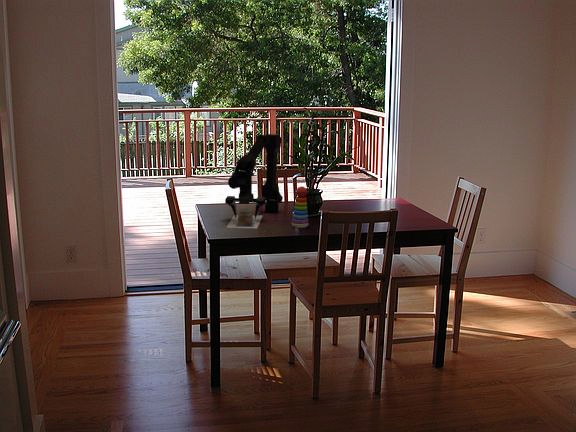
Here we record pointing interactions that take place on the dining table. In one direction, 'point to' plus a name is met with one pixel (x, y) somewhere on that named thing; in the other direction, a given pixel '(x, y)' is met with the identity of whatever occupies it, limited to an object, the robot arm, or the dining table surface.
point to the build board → (234, 224)
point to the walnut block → (245, 219)
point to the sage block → (246, 210)
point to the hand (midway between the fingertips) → (245, 218)
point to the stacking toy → (300, 209)
